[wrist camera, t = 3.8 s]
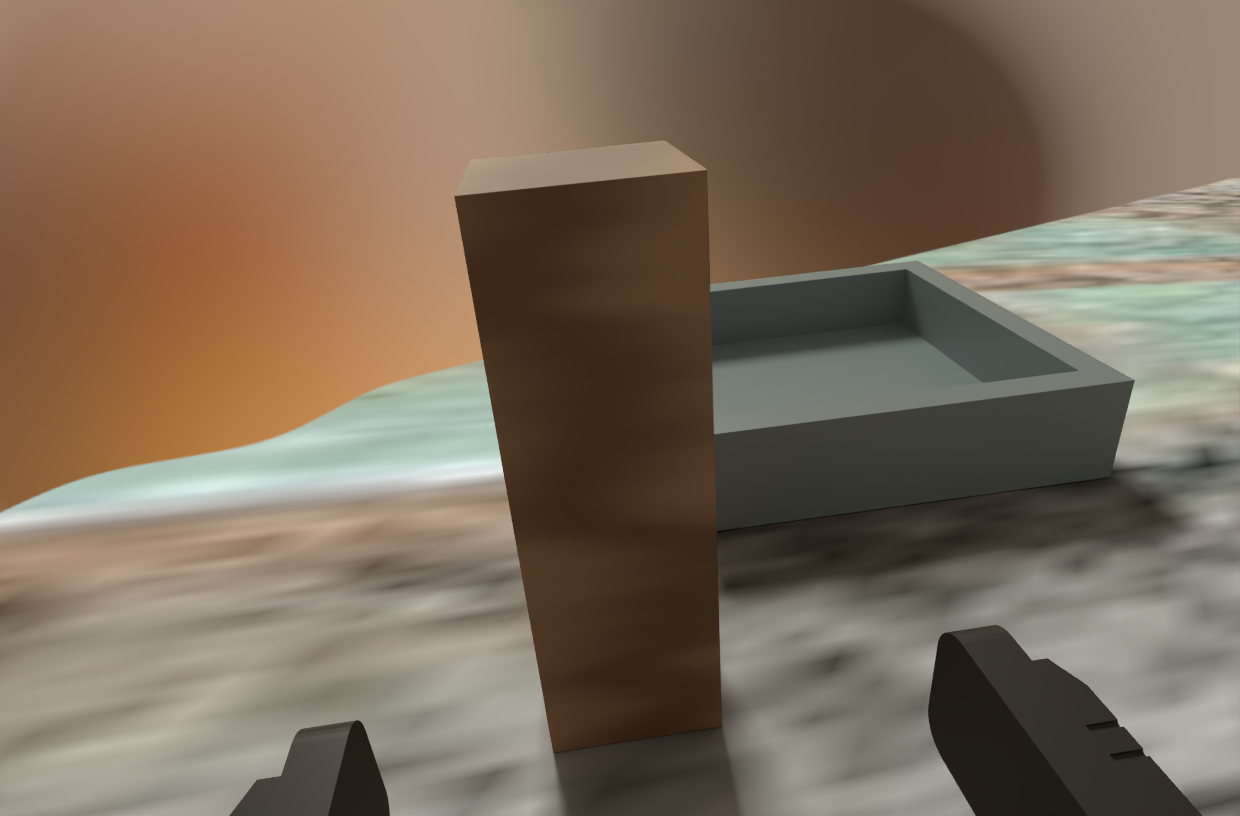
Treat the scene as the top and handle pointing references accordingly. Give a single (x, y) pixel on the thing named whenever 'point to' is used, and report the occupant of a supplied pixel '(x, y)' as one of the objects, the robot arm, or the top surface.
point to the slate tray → (894, 396)
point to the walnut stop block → (605, 426)
